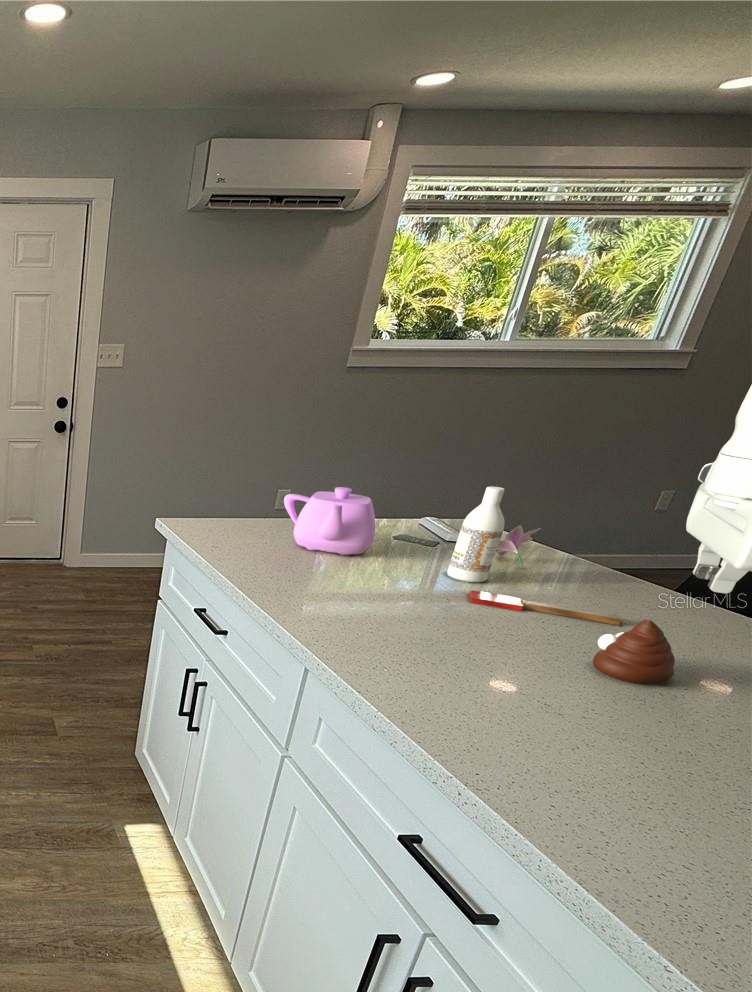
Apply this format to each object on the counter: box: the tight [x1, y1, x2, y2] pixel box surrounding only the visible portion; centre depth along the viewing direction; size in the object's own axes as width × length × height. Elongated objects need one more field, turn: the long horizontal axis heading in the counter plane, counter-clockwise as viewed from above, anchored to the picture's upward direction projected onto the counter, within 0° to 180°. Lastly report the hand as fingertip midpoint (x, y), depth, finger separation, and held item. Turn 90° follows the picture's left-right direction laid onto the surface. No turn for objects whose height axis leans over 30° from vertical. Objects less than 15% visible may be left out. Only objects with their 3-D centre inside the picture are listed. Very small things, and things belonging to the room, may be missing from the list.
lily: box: [496, 525, 542, 569], centre depth 146 cm, size 12×12×10 cm
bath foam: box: [446, 486, 505, 583], centre depth 135 cm, size 7×7×20 cm
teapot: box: [283, 486, 376, 556], centre depth 155 cm, size 23×21×15 cm
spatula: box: [468, 589, 622, 626], centre depth 123 cm, size 22×5×1 cm, turn 56°
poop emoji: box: [592, 619, 676, 684], centre depth 99 cm, size 10×8×9 cm
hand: (710, 584), depth 84 cm, fingers open, 4 cm apart
